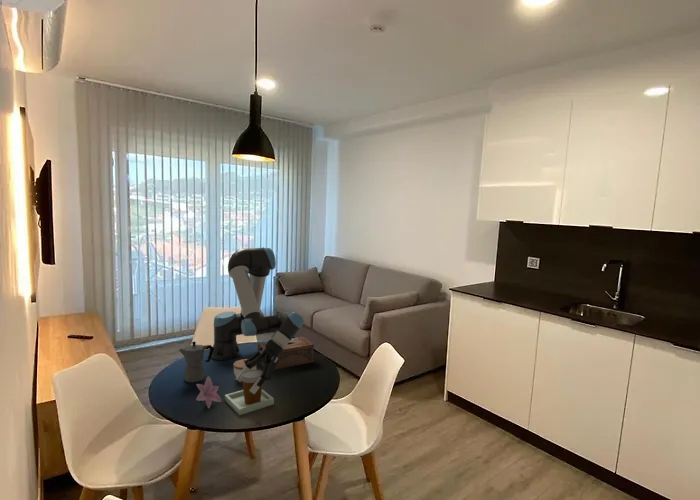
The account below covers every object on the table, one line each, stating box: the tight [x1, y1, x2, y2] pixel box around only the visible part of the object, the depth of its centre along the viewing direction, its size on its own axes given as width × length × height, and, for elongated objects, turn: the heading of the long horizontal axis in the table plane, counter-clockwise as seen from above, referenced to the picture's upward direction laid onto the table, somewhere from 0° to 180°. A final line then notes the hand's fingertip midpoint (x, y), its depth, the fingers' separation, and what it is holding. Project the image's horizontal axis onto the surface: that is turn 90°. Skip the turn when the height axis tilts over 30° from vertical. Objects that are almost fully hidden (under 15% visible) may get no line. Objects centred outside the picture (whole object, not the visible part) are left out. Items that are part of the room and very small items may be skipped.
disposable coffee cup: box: [241, 369, 264, 405], centre depth 162 cm, size 10×10×12 cm
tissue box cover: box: [257, 336, 315, 370], centre depth 209 cm, size 26×14×10 cm, turn 120°
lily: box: [195, 375, 222, 409], centre depth 163 cm, size 12×12×10 cm
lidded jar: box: [233, 358, 257, 378], centre depth 187 cm, size 11×11×9 cm
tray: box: [224, 388, 275, 416], centre depth 164 cm, size 15×15×2 cm
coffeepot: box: [178, 341, 214, 383], centre depth 186 cm, size 15×9×18 cm, turn 110°
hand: (244, 386), depth 162 cm, fingers open, 13 cm apart
